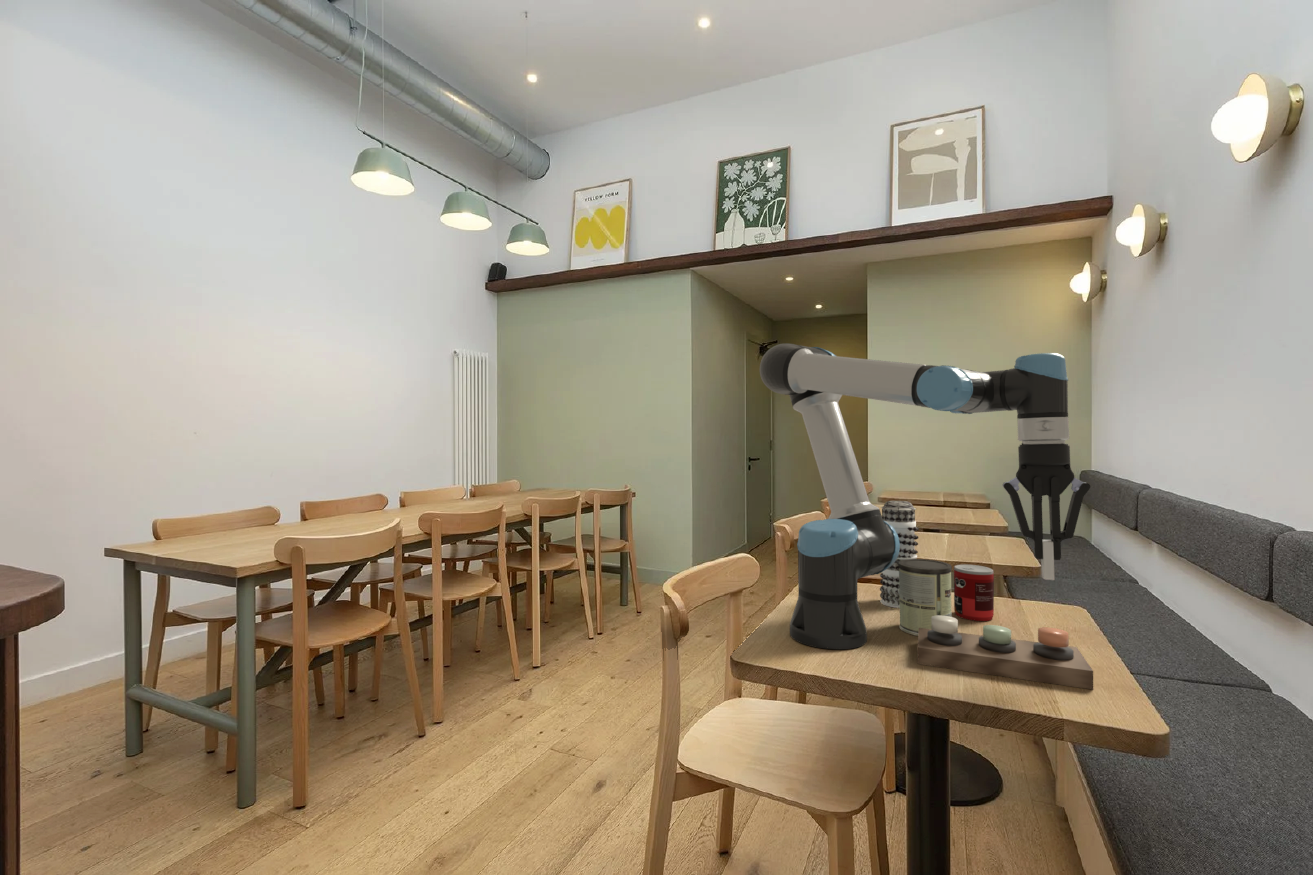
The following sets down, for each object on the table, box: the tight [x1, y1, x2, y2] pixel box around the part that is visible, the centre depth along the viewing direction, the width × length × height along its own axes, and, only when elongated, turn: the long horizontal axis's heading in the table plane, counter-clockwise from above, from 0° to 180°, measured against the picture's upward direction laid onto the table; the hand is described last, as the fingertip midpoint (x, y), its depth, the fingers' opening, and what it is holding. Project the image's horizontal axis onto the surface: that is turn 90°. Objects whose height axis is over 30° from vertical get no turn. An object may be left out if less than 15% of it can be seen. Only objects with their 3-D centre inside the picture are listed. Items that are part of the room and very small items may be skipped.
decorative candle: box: [879, 500, 920, 609], centre depth 145 cm, size 9×9×25 cm
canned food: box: [953, 564, 995, 622], centre depth 134 cm, size 8×8×11 cm
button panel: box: [916, 628, 1094, 690], centre depth 106 cm, size 26×12×4 cm, turn 65°
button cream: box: [931, 615, 959, 634], centre depth 110 cm, size 4×4×2 cm
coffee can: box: [898, 558, 953, 637], centre depth 125 cm, size 10×10×14 cm
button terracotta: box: [1037, 626, 1070, 647], centre depth 103 cm, size 4×4×2 cm
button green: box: [982, 624, 1012, 644], centre depth 106 cm, size 4×4×2 cm
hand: (1048, 578), depth 102 cm, fingers closed
